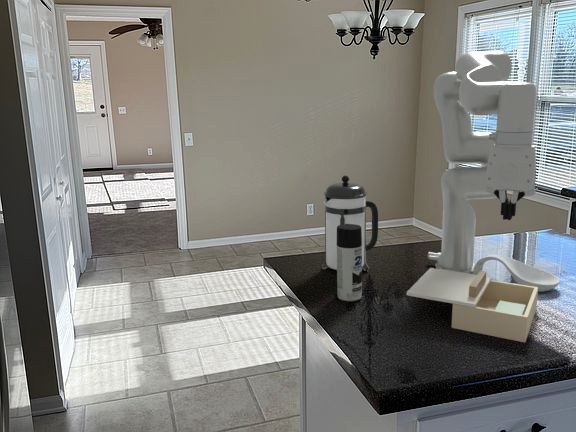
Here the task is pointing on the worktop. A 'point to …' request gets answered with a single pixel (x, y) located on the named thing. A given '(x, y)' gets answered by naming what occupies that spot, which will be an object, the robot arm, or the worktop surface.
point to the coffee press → (347, 217)
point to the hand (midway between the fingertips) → (507, 218)
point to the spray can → (349, 262)
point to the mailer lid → (451, 286)
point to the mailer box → (499, 311)
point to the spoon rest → (522, 273)
